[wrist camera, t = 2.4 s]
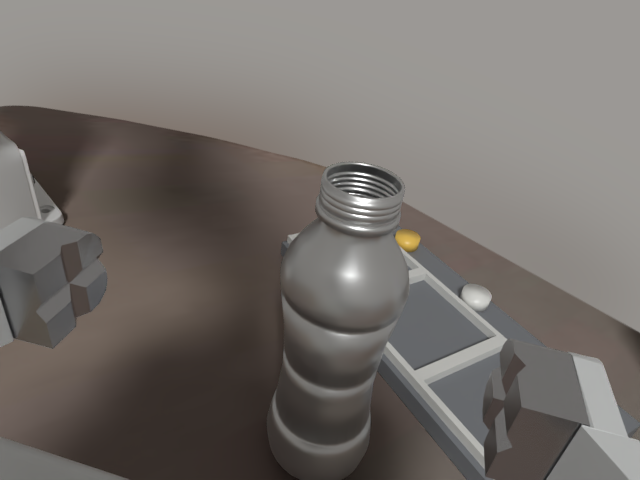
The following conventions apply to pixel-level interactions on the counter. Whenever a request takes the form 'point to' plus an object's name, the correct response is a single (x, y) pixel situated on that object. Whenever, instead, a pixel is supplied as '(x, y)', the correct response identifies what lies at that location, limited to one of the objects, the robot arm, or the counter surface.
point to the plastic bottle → (337, 321)
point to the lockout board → (448, 354)
